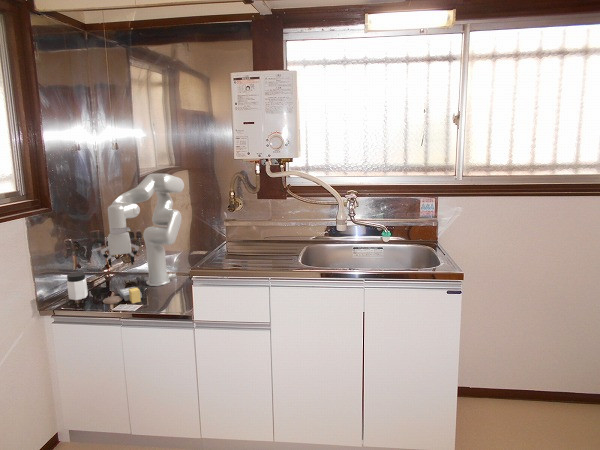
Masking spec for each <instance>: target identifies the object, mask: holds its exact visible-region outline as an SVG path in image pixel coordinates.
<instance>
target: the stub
mask: <svg viewBox="0 0 600 450" xmlns="http://www.w3.org/2000/svg"><path fill="white" fill-rule="evenodd" d="M133 287H134V288H130V287H128V288H129V298H130V300H129V301H130V303H131V304H136V303H140V302H142V299H141V298H140V292H141V290H140V289H139V287H137V286H133Z"/></svg>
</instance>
